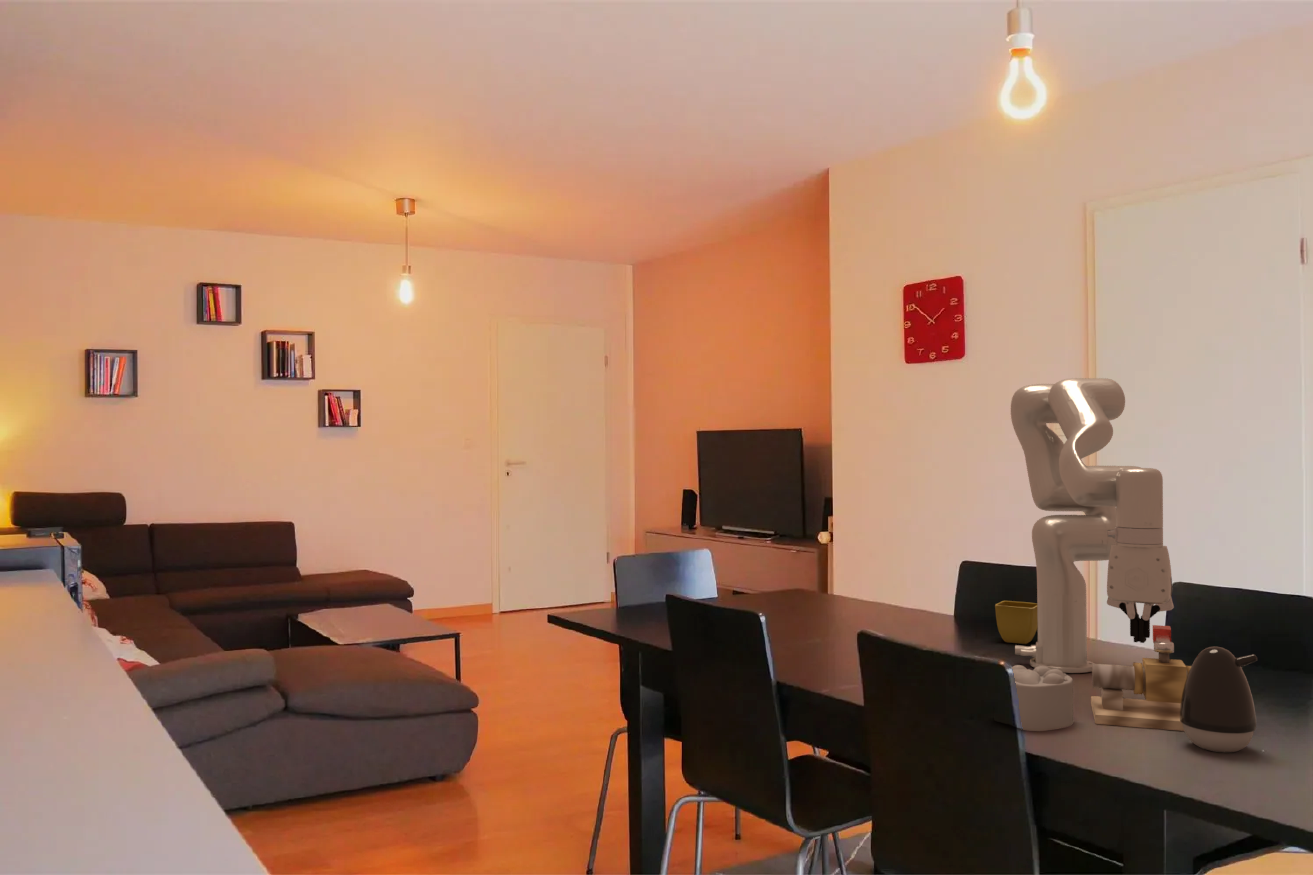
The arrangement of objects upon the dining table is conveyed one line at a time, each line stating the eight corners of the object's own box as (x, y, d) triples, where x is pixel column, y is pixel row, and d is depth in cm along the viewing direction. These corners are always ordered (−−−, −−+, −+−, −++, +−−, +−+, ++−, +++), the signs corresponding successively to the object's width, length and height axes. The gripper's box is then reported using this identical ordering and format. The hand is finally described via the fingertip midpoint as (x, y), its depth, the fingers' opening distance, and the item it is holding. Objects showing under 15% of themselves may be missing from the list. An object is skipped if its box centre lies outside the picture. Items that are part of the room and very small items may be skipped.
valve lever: (1174, 653, 171) (1174, 638, 171) (1154, 652, 172) (1153, 637, 172) (1170, 640, 183) (1170, 626, 183) (1152, 639, 184) (1151, 624, 184)
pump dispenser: (1263, 760, 149) (1262, 655, 149) (1182, 753, 153) (1181, 650, 153) (1253, 742, 159) (1252, 643, 159) (1177, 735, 163) (1176, 638, 163)
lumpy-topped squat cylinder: (984, 718, 174) (984, 666, 174) (1041, 709, 179) (1040, 659, 180) (1032, 733, 164) (1032, 678, 164) (1090, 723, 170) (1089, 670, 170)
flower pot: (1041, 641, 245) (1041, 603, 245) (1033, 646, 238) (1033, 607, 238) (1003, 637, 250) (1003, 600, 250) (994, 643, 242) (994, 604, 243)
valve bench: (1095, 723, 170) (1094, 656, 170) (1091, 704, 183) (1090, 641, 183) (1247, 735, 162) (1246, 665, 162) (1231, 714, 175) (1230, 649, 176)
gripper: (1090, 537, 184) (1090, 640, 184) (1183, 541, 176) (1184, 649, 175) (1098, 534, 190) (1099, 633, 190) (1189, 538, 182) (1190, 642, 182)
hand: (1140, 641), depth 183 cm, fingers closed
